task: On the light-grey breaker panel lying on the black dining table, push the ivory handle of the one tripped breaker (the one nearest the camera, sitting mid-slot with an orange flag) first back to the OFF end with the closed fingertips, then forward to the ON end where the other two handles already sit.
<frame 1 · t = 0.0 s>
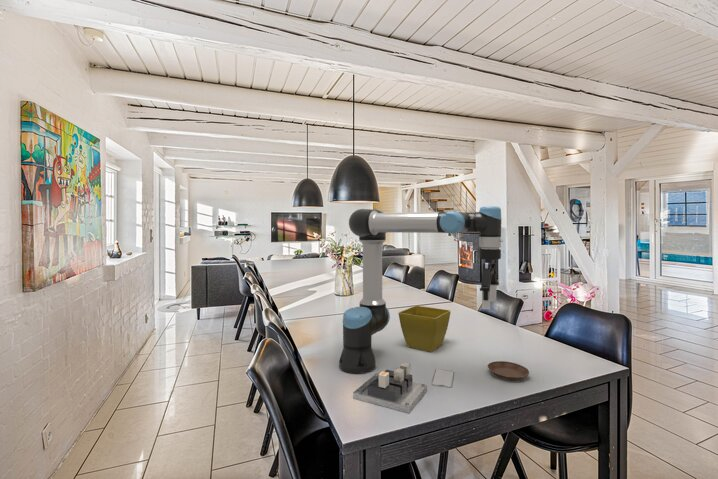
hand: (489, 305, 134), 28 cm above the table, fingers open, 13 cm apart
tripped handle: (383, 379, 118), point 7 cm above the table, slide at 0.0 cm
flower pot: (424, 346, 172), on the table
panel: (390, 394, 123), on the table
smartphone: (443, 379, 136), on the table
saucer: (507, 375, 139), on the table
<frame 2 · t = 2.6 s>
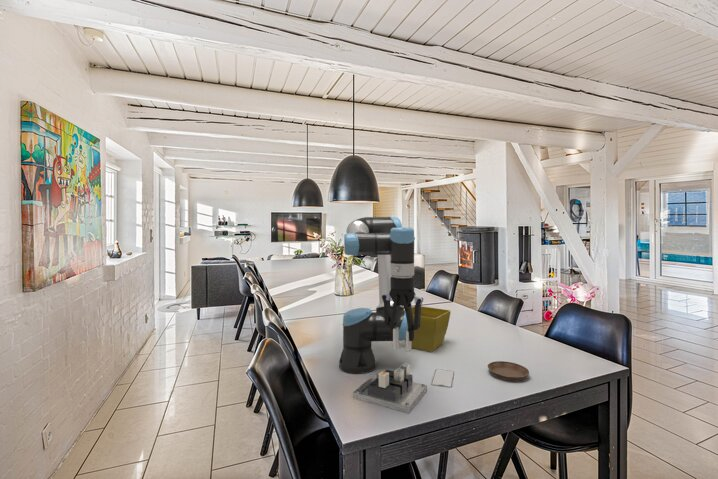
hand: (402, 349, 114), 19 cm above the table, fingers open, 4 cm apart
nothing on the table moved.
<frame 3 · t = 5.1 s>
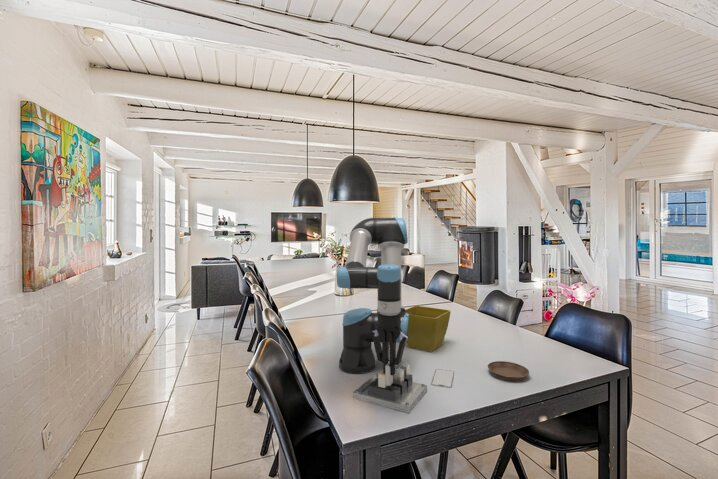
hand: (389, 383, 118), 6 cm above the table, fingers closed
tripped handle: (383, 379, 118), point 7 cm above the table, slide at -0.1 cm, touching gripper
everything else where it was.
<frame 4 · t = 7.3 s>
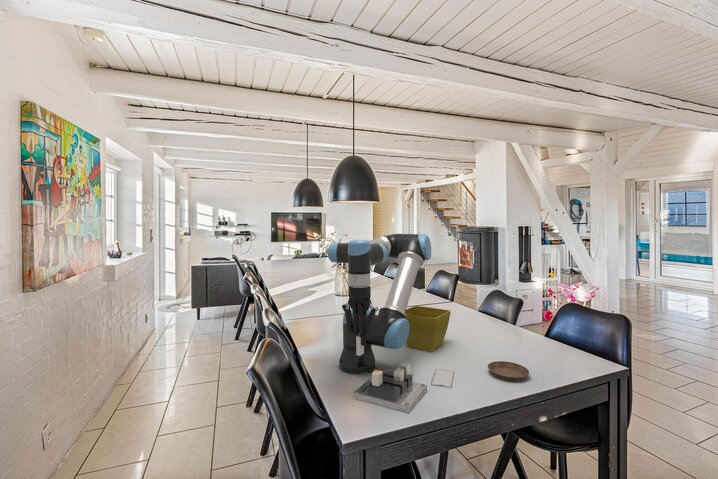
hand: (360, 354, 123), 14 cm above the table, fingers closed
tripped handle: (377, 377, 119), point 7 cm above the table, slide at -2.4 cm
everything else where it was.
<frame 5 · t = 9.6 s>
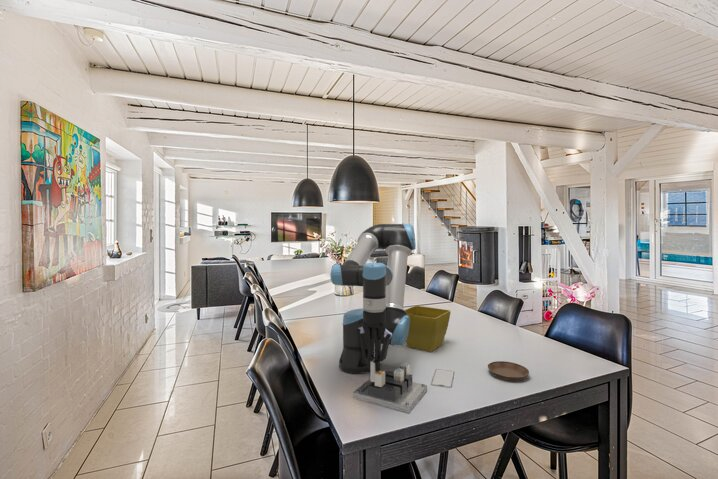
hand: (374, 380, 120), 7 cm above the table, fingers closed
tripped handle: (380, 378, 119), point 7 cm above the table, slide at -1.4 cm, touching gripper
everything else where it was.
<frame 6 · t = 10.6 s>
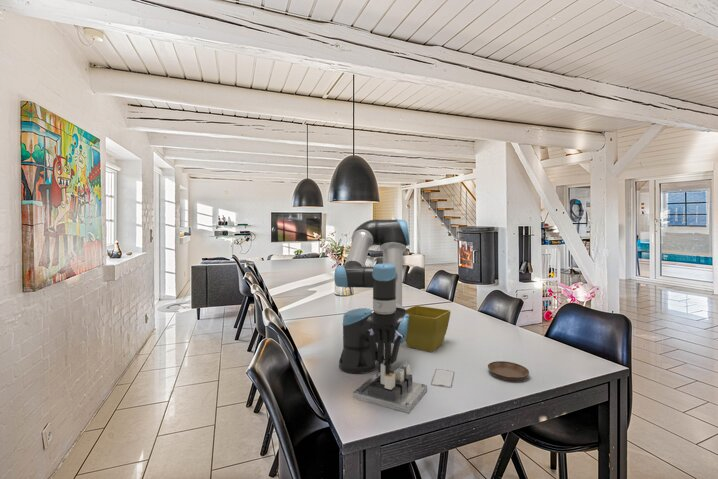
hand: (384, 382, 118), 6 cm above the table, fingers closed
tripped handle: (389, 380, 117), point 7 cm above the table, slide at 2.2 cm, touching gripper
everything else where it was.
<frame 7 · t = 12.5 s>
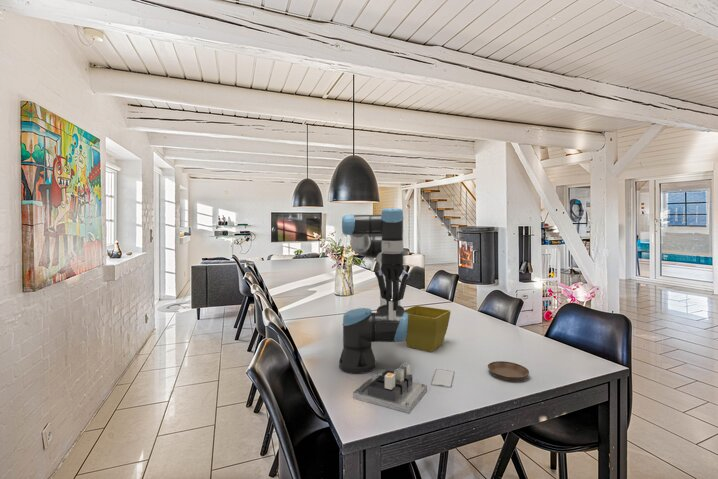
hand: (392, 319, 127), 25 cm above the table, fingers closed
tripped handle: (389, 380, 117), point 7 cm above the table, slide at 2.2 cm
everything else where it was.
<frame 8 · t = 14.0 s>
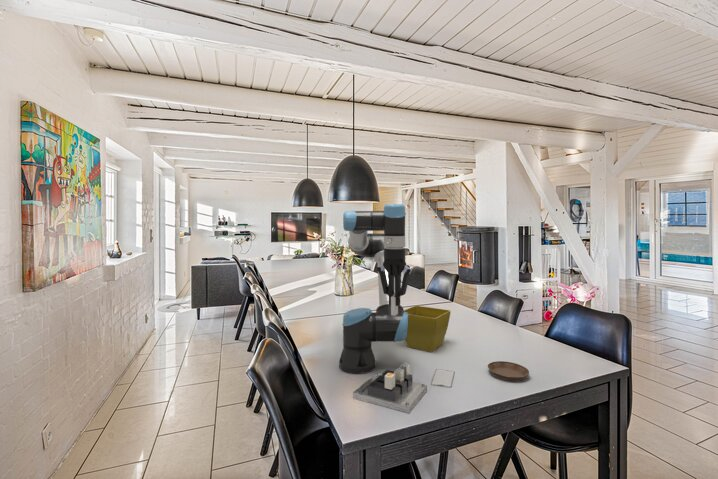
hand: (394, 314, 127), 26 cm above the table, fingers closed
nothing on the table moved.
at the end: tripped handle slide at 2.2 cm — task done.
